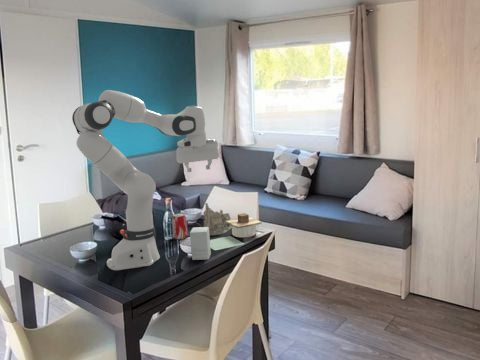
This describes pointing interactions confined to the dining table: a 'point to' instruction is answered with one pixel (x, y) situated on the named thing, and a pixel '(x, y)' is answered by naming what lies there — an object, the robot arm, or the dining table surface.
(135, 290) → the dining table surface
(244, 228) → the pipe section
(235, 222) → the lid
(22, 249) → the dining table surface
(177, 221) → the soda can
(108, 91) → the robot arm
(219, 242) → the mat
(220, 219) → the ceramic cottage
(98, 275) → the dining table surface
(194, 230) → the supplement box
